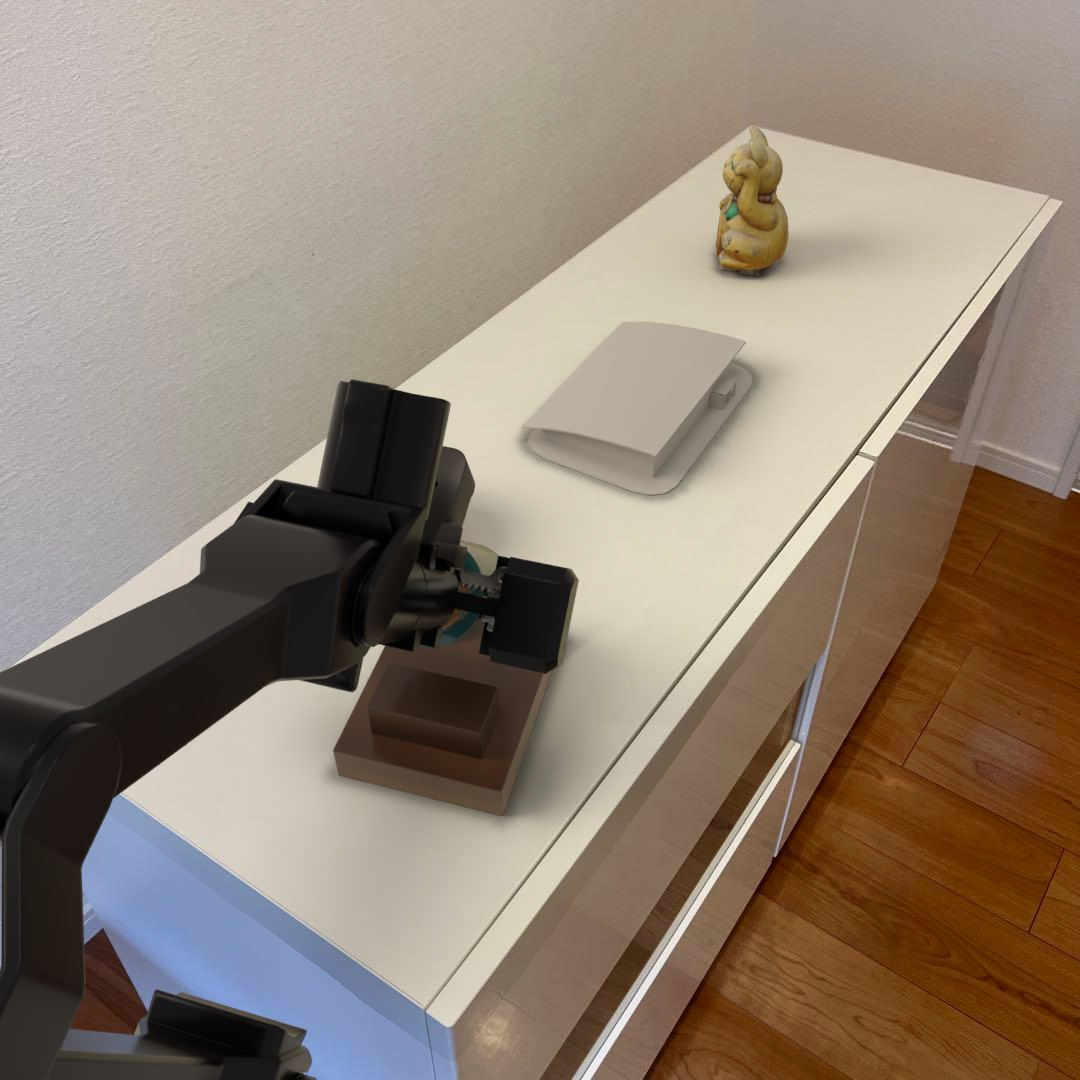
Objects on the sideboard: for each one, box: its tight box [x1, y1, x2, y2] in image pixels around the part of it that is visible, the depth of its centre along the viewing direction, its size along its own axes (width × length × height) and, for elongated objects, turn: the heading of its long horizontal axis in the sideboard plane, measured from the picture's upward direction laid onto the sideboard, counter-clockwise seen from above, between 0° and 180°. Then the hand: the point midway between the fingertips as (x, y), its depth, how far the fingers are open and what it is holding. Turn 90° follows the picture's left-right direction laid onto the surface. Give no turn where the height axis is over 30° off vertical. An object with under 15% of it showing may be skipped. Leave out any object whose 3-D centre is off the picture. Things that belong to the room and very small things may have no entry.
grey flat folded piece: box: [521, 321, 753, 496], centre depth 104 cm, size 15×23×4 cm, turn 150°
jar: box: [419, 540, 500, 648], centre depth 71 cm, size 11×7×11 cm, turn 164°
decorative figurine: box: [715, 124, 790, 277], centre depth 120 cm, size 10×8×15 cm
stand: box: [332, 640, 553, 817], centre depth 77 cm, size 16×12×6 cm
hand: (453, 590), depth 72 cm, fingers closed on jar, 7 cm apart
